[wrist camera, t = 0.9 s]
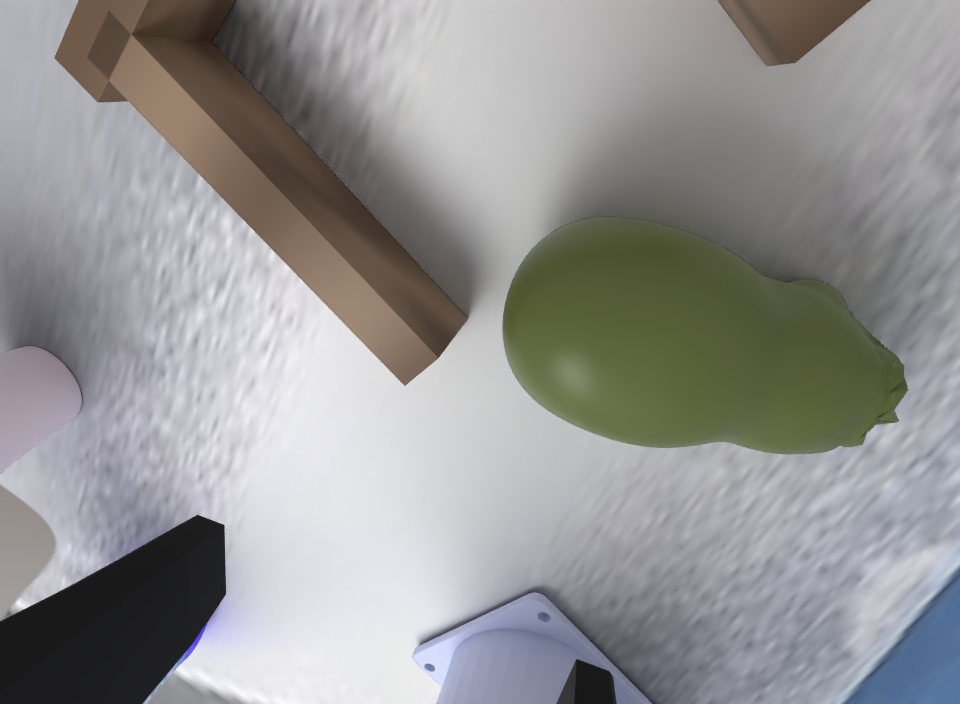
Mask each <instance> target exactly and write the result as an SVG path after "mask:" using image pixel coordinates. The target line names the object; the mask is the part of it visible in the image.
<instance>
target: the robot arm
mask: <svg viewBox="0 0 960 704" xmlns="http://www.w3.org/2000/svg"><path fill="white" fill-rule="evenodd" d="M225 595H226V576H225V532H224V525H223V524H220V523H217V522H215V521H212V520H210V519H207V518H204V517H202V516H199V515H197V516H195V517H193V518H191V519H189V520H187V521H185V522H184V523H182V524H180V525H178V526H176V527H175V528H173V529H171V530H169V531H168V532H166V533H164V534H162V535H161V536H159V537H157V538H155V539H154V540H152V541H150V542H148V543H147V544H145V545H143V546H141V547H140V548H138V549H136V550H134V551H133V552H131V553H129V554H127V555H126V556H124V557H122V558H120V559H118V560H117V561H115V562H113V563H111V564H109V565H108V566H106V567H104V568H102V569H100V570H98V571H97V572H95V573H93V574H91V575H89V576H87V577H86V578H84V579H82V580H80V581H78V582H76V583H75V584H73V585H71V586H69V587H67V588H65V589H63V590H61V591H60V592H58V593H56V594H54V595H52V596H50V597H48V598H46V599H44V600H42V601H40V602H38V603H36V604H34V605H32V606H30V607H28V608H26V609H24V610H22V611H20V612H18V613H16V614H14V615H12V616H10V617H8V618H6V619H4V620H2V621H0V704H143V703H144V701H145V700H146V699H147V698H148V697H149V696H150V694H151V693H152V692H153V691H154V690H155V688H156V687H157V686H158V685H159V684H160V682H161V681H162V680H163V679H164V678H165V676H166V675H167V674H168V673H169V672H170V670H171V669H172V668H173V667H174V666H175V664H176V663H177V662H178V661H179V660H180V658H181V657H182V656H183V655H184V654H185V652H186V651H187V650H188V649H189V647H190V646H191V645H192V644H193V642H194V641H195V639H196V638H197V637H198V635H199V634H200V632H201V631H202V629H203V628H204V626H205V625H206V623H207V622H208V621H209V619H210V618H211V616H212V614H213V613H214V611H215V610H216V608H217V607H218V605H219V604H220V602H221V601H222V599H223V598H224V596H225ZM543 612H544V613H543ZM546 613H547V614H546ZM412 658H413V660H414V662H415V663H416V664H417V665H418V666H419V667H420V668H421V669H422V670H424V671H425V672H426V673H427V674H428V675H429V676H430V677H431V678H432V679H433V680H434V681H435V682H436V683H437V684H439V685H440V686H441V687H442V688H441V691H440V694H439V697H438V700H437V703H436V704H652V703H651V702H650V701H649V700H648V699H647V698H646V697H645V696H644V695H643V694H642V693H641V692H640V691H639V690H638V689H637V688H636V687H635V686H634V685H633V684H632V683H631V682H630V681H629V680H628V679H627V678H626V677H625V676H624V675H623V674H622V673H621V672H620V671H619V670H618V669H617V668H616V667H615V666H614V665H613V664H612V663H611V662H610V661H609V660H608V659H607V658H606V657H605V656H604V655H603V654H602V653H601V652H600V651H599V650H598V649H597V648H596V647H595V646H594V645H593V644H592V643H591V642H590V641H589V640H588V639H587V638H586V637H585V636H584V635H583V634H582V633H581V632H580V631H579V630H578V629H577V628H576V627H575V626H574V625H573V624H572V623H571V622H570V621H569V620H568V619H567V618H566V617H565V616H564V615H563V614H562V613H561V612H560V611H559V609H558V608H557V607H556V606H555V605H554V604H553V603H552V602H551V601H550V600H549V599H548V598H547V597H545V596H544V595H543V594H540V593H535V592H533V593H529V594H527V595H525V596H523V597H521V598H519V599H516V600H514V601H512V602H510V603H508V604H506V605H504V606H502V607H500V608H498V609H495V610H493V611H491V612H489V613H487V614H485V615H483V616H481V617H479V618H477V619H474V620H472V621H470V622H468V623H466V624H464V625H462V626H460V627H458V628H456V629H453V630H451V631H449V632H447V633H445V634H443V635H441V636H439V637H437V638H435V639H432V640H430V641H428V642H426V643H424V644H422V645H420V646H418V647H416V648H415V650H414V653H413V656H412Z"/></svg>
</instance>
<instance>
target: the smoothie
mask: <svg viewBox="0 0 960 704" xmlns="http://www.w3.org/2000/svg"><path fill="white" fill-rule="evenodd" d="M81 407H82V395H81V391H80V388H79V386H78V383H77V381H76V379H75V378H74V376H73V375H72V373H71V372H70V371H69V369H68V368H67V367H66V366H65V365H64V364H63V363H62V362H61V361H60V360H59V359H58V358H57V357H55V356H54V355H52V354H51V353H49V352H48V351H46V350H43V349H41V348H38V347H34V346H24V347H21V348H17V349H14V350H10V351H7V352H4V353H0V473H2V472H3V471H4V470H5V469H7V468H8V467H9V466H11V465H12V464H13V463H15V462H16V461H17V460H19V459H20V458H21V457H22V456H24V455H25V454H26V453H28V452H29V451H30V450H32V449H33V448H34V447H35V446H37V445H38V444H39V443H41V442H42V441H43V440H45V439H46V438H47V437H49V436H50V435H51V434H52V433H54V432H55V431H56V430H58V429H59V428H60V427H62V426H63V425H64V424H66V423H67V422H68V421H69V420H71V419H72V418H73V417H75V416H76V415H77V414H78V413H79V412H80V410H81Z"/></svg>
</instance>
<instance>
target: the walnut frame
mask: <svg viewBox="0 0 960 704" xmlns="http://www.w3.org/2000/svg"><path fill="white" fill-rule="evenodd" d="M235 1H236V0H79V1H78V4H77V6H76V8H75V11H74V13H73V15H72V18H71V20H70V22H69V25H68V27H67V29H66V32H65V34H64V36H63V39H62V41H61V43H60V46H59V48H58V51H57V53H56V55H55V59H56V60H57V61H58V62H59V63H60V64H61V65H62V66H63V67H64V68H65V69H66V70H67V71H68V72H69V73H70V74H71V75H72V76H73V77H74V78H75V79H76V80H77V81H78V82H79V84H80V85H81V86H82V87H83V88H84V89H85V90H86V91H87V92H88V93H89V94H90V95H91V96H92V97H93V98H94V99H95V100H96V101H97V102H120V101H129V102H130V103H131V104H132V105H133V106H134V107H135V108H136V110H137V111H138V112H139V113H140V114H141V115H142V116H143V117H144V118H145V119H146V120H147V121H148V122H149V123H150V124H151V125H152V126H153V127H154V128H155V129H156V130H157V131H158V132H159V133H160V134H161V135H162V136H163V137H164V138H165V139H166V140H167V141H168V142H169V144H170V145H171V146H172V147H173V148H174V149H175V150H176V151H177V152H178V153H179V154H180V155H181V156H182V157H183V158H184V159H185V160H186V161H187V162H188V163H189V164H190V165H191V166H192V167H193V168H194V169H195V170H196V171H197V172H198V173H199V174H200V175H201V176H202V177H203V179H204V180H205V181H206V182H207V183H208V184H209V185H210V186H211V187H212V188H213V189H214V190H215V191H216V192H217V193H218V194H219V195H220V196H221V197H222V198H223V199H224V200H225V201H226V202H227V203H228V204H229V205H230V206H231V207H232V208H233V209H234V210H235V211H236V213H237V214H238V215H239V216H240V217H241V218H242V219H243V220H244V221H245V222H246V223H247V224H248V225H249V226H250V227H251V228H252V229H253V230H254V231H255V232H256V233H257V234H258V235H259V236H260V237H261V238H262V239H263V240H264V241H265V242H266V243H267V244H268V245H269V246H270V248H271V249H272V250H273V251H274V252H275V253H276V254H277V255H278V256H279V257H280V258H281V259H282V260H283V261H284V262H285V263H286V264H287V265H288V266H289V267H290V268H291V269H292V270H293V271H294V272H295V273H296V274H297V275H298V276H299V277H300V278H301V279H302V280H303V282H304V283H305V284H306V285H307V286H308V287H309V288H310V289H311V290H312V291H313V292H314V293H315V294H316V295H317V296H318V297H319V298H320V299H321V300H322V301H323V302H324V303H325V304H326V305H327V306H328V307H329V308H330V309H331V310H332V311H333V312H334V313H335V314H336V315H337V317H338V318H339V319H340V320H341V321H342V322H343V323H344V324H345V325H346V326H347V327H348V328H349V329H350V330H351V331H352V332H353V333H354V334H355V335H356V336H357V337H358V338H359V339H360V340H361V341H362V342H363V343H364V344H365V345H366V346H367V347H368V348H369V349H370V351H371V352H372V353H373V354H374V355H375V356H376V357H377V358H378V359H379V360H380V361H381V362H382V363H383V364H384V365H385V366H386V367H387V368H388V369H389V370H390V371H391V372H392V373H393V374H394V375H395V376H396V377H397V378H398V379H399V380H400V381H401V382H402V383H403V384H404V386H405V385H406V384H408V383H409V382H410V381H411V380H413V379H414V378H415V377H416V376H417V375H419V374H420V373H421V372H422V371H423V370H425V369H426V368H427V367H428V366H429V365H431V364H432V363H433V362H434V361H435V360H437V359H438V358H439V357H440V355H441V354H442V353H443V351H444V350H445V349H446V347H447V346H448V345H449V343H450V342H451V341H452V339H453V338H454V337H455V335H456V334H457V333H458V331H459V330H460V329H461V327H462V326H463V325H464V323H465V322H466V321H467V319H468V318H467V317H466V316H465V315H464V314H463V313H462V312H461V311H460V310H459V308H458V307H457V306H456V305H455V304H454V303H453V302H452V301H451V300H450V299H449V298H448V297H447V295H446V294H445V293H444V292H443V291H442V290H441V289H440V288H439V287H438V286H437V285H436V284H435V282H434V281H433V280H432V279H431V278H430V277H429V276H428V275H427V274H426V273H425V272H424V271H423V270H422V268H421V267H420V266H419V265H418V264H417V263H416V262H415V261H414V260H413V259H412V258H411V257H410V255H409V254H408V253H407V252H406V251H405V250H404V249H403V248H402V247H401V246H400V245H399V244H398V242H397V241H396V240H395V239H394V238H393V237H392V236H391V235H390V234H389V233H388V232H387V231H386V230H385V228H384V227H383V226H382V225H381V224H380V223H379V222H378V221H377V220H376V219H375V218H374V217H373V215H372V214H371V213H370V212H369V211H368V210H367V209H366V208H365V207H364V206H363V205H362V204H361V203H360V201H359V200H358V199H357V198H356V197H355V196H354V195H353V194H352V193H351V192H350V191H349V190H348V188H347V187H346V186H345V185H344V184H343V183H342V182H341V181H340V180H339V179H338V178H337V177H336V175H335V174H334V173H333V172H332V171H331V170H330V169H329V168H328V167H327V166H326V165H325V164H324V163H323V161H322V160H321V159H320V158H319V157H318V156H317V155H316V154H315V153H314V152H313V151H312V150H311V148H310V147H309V146H308V145H307V144H306V143H305V142H304V141H303V140H302V139H301V138H300V137H299V135H298V134H297V133H296V132H295V131H294V130H293V129H292V128H291V127H290V126H289V125H288V124H287V123H286V121H285V120H284V119H283V118H282V117H281V116H280V115H279V114H278V113H277V112H276V111H275V110H274V108H273V107H272V106H271V105H270V104H269V103H268V102H267V101H266V100H265V99H264V98H263V97H262V95H261V94H260V93H259V92H258V91H257V90H256V89H255V88H254V87H253V86H252V85H251V84H250V83H249V81H248V80H247V79H246V78H245V77H244V76H243V75H242V74H241V73H240V72H239V71H238V70H237V68H236V67H235V66H234V65H233V64H232V63H231V62H230V61H229V60H228V59H227V58H226V57H225V56H224V54H223V53H222V52H221V51H220V50H219V49H218V48H217V47H216V46H215V45H214V44H213V43H212V41H213V39H214V37H215V35H216V34H217V32H218V30H219V29H220V27H221V25H222V23H223V22H224V20H225V18H226V17H227V15H228V13H229V11H230V10H231V8H232V6H233V4H234V3H235ZM869 1H870V0H718V2H719V3H720V4H721V6H722V7H723V8H724V10H725V11H726V12H727V14H728V15H729V16H730V18H731V19H732V20H733V22H734V23H735V24H736V26H737V27H738V28H739V30H740V31H741V32H742V34H743V35H744V36H745V38H746V39H747V40H748V42H749V43H750V44H751V46H752V47H753V48H754V50H755V51H756V52H757V54H758V55H759V56H760V58H761V59H762V60H763V62H764V63H765V64H766V66H772V65H780V64H788V63H795V62H797V61H798V60H799V59H800V58H802V57H803V56H804V55H805V54H806V53H808V52H809V51H810V50H811V49H812V48H814V47H815V46H816V45H817V44H818V43H820V42H821V41H822V40H823V39H824V38H826V37H827V36H828V35H829V34H831V33H832V32H833V31H834V30H835V29H837V28H838V27H839V26H840V25H841V24H843V23H844V22H845V21H846V20H847V19H849V18H850V17H851V16H852V15H853V14H855V13H856V12H857V11H858V10H859V9H861V8H862V7H863V6H864V5H866V4H867V3H868V2H869Z"/></svg>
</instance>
